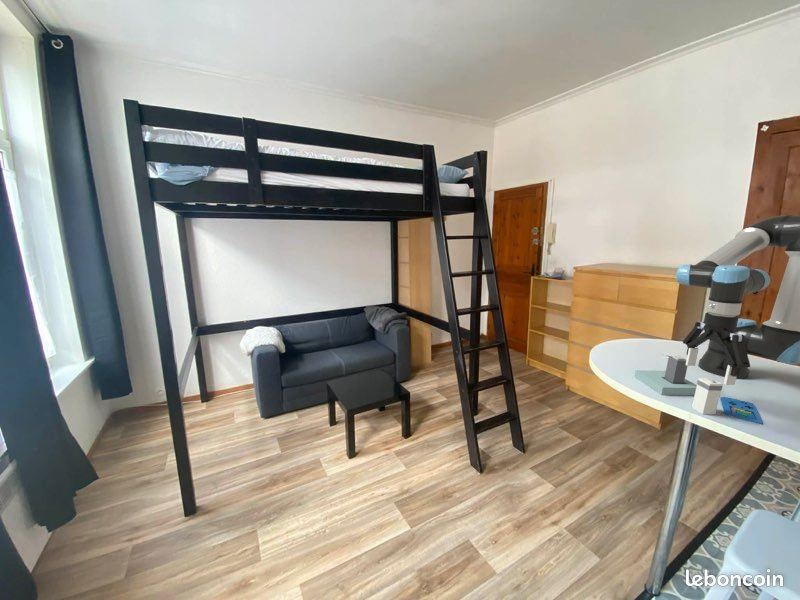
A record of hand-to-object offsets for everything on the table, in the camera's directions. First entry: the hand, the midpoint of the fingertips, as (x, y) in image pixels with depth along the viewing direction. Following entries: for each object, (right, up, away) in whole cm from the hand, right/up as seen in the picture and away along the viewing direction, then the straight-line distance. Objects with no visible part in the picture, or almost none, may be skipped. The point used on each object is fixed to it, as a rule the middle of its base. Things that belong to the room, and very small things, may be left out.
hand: (708, 374), depth 103 cm
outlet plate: (0, -8, +16) cm, 18 cm away
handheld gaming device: (+11, -13, +1) cm, 17 cm away
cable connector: (-2, -12, 0) cm, 12 cm away
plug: (+1, -9, +15) cm, 17 cm away
